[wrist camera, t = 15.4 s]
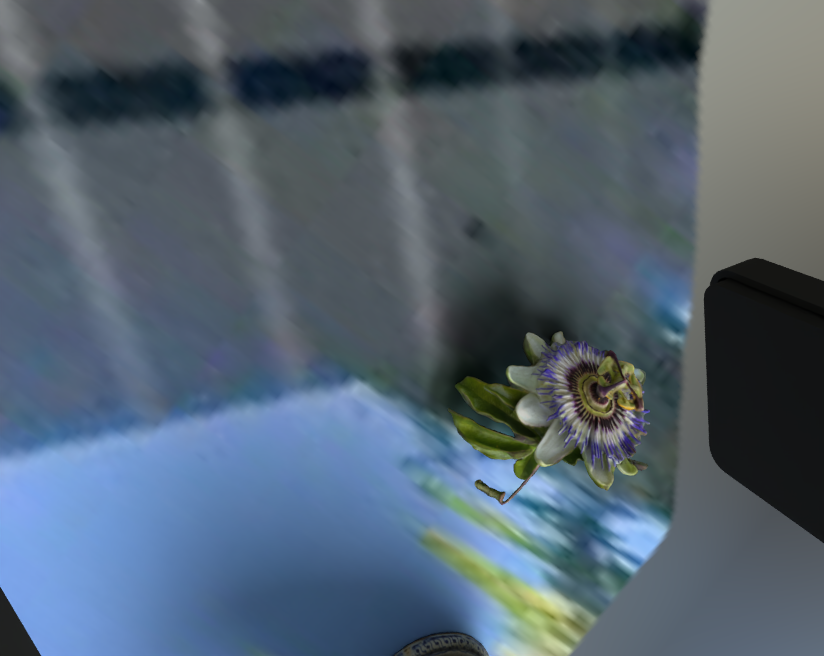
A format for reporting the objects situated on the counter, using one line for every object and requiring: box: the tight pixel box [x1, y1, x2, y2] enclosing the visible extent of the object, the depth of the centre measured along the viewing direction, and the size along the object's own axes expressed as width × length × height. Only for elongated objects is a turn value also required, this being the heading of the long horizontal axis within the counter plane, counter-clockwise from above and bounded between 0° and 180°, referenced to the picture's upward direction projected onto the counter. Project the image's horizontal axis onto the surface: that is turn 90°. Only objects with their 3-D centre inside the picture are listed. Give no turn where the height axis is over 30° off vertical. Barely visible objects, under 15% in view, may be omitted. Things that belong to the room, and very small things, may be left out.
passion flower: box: [448, 331, 650, 505], centre depth 51 cm, size 11×11×12 cm
